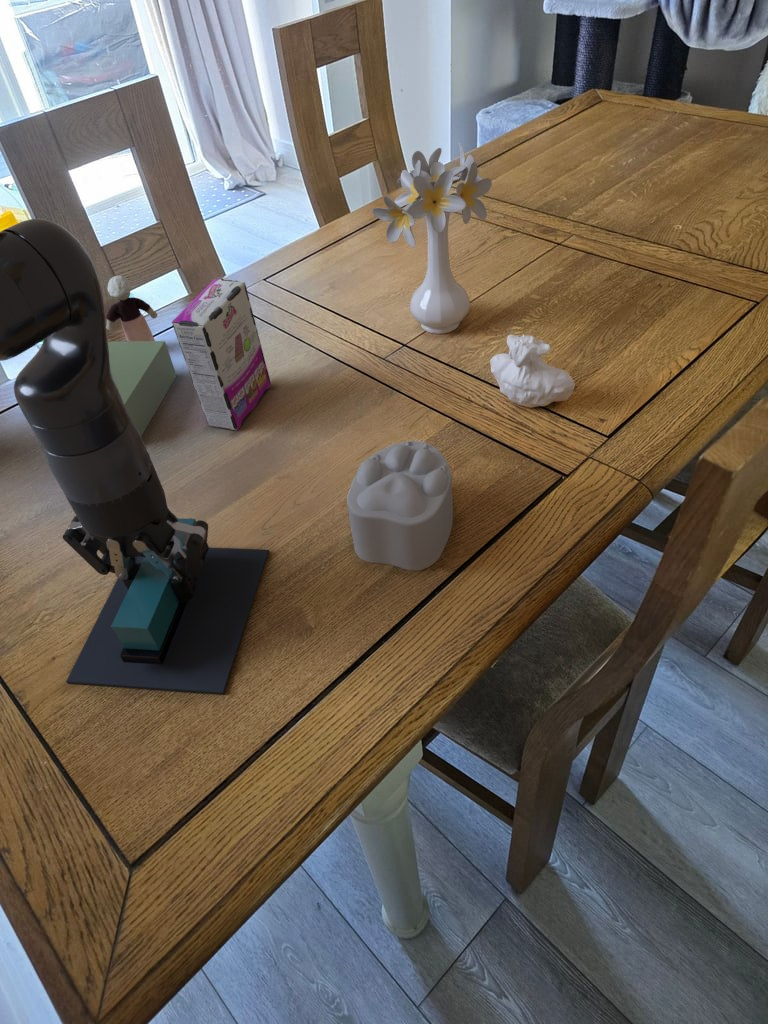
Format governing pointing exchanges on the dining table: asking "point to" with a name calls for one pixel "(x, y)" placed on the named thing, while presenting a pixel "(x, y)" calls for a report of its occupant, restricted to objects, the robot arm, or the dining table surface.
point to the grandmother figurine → (128, 311)
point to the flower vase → (436, 232)
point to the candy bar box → (223, 353)
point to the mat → (182, 631)
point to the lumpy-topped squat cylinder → (402, 506)
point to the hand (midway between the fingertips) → (166, 595)
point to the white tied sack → (530, 374)
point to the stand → (141, 377)
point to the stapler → (149, 614)
